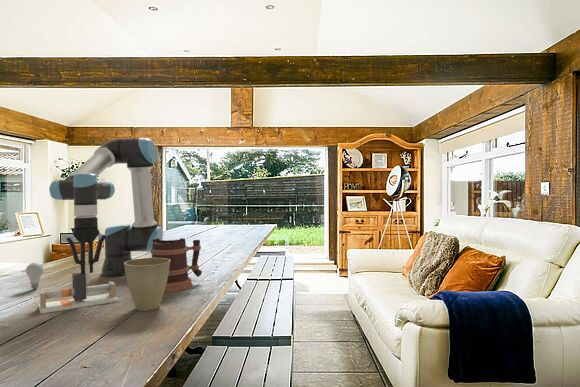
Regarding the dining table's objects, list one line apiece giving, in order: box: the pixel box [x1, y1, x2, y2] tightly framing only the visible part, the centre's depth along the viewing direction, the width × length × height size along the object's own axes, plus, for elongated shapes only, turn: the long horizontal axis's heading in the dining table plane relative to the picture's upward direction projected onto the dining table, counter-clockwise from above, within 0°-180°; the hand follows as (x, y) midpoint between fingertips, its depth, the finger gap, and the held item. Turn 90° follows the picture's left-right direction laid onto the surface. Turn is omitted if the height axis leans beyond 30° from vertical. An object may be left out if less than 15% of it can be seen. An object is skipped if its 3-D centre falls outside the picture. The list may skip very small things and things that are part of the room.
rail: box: [38, 281, 119, 314], centre depth 145 cm, size 24×10×6 cm, turn 125°
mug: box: [149, 237, 203, 293], centre depth 169 cm, size 18×23×20 cm
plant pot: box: [124, 257, 170, 312], centre depth 139 cm, size 15×15×16 cm
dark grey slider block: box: [71, 272, 87, 301], centre depth 145 cm, size 4×5×9 cm, turn 35°
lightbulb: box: [25, 262, 44, 290], centre depth 167 cm, size 6×6×11 cm
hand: (87, 282), depth 146 cm, fingers closed
